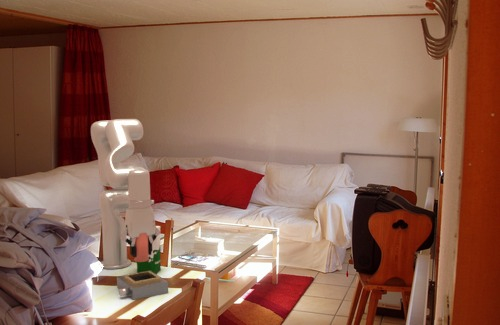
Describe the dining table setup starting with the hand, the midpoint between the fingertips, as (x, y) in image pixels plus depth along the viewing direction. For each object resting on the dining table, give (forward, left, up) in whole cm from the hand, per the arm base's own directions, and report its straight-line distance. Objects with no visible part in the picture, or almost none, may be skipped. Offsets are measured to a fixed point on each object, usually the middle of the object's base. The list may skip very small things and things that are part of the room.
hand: (141, 254), depth 194 cm
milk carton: (-20, +11, -13) cm, 26 cm away
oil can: (0, 0, -2) cm, 2 cm away
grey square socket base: (0, -1, -13) cm, 13 cm away
